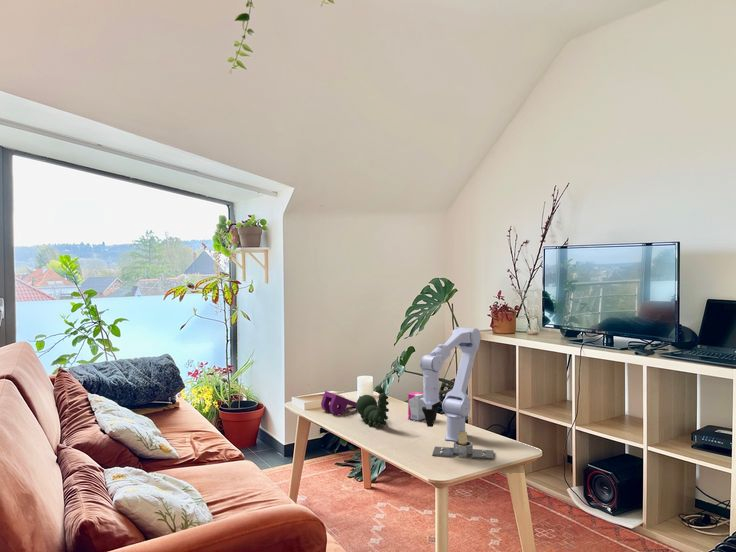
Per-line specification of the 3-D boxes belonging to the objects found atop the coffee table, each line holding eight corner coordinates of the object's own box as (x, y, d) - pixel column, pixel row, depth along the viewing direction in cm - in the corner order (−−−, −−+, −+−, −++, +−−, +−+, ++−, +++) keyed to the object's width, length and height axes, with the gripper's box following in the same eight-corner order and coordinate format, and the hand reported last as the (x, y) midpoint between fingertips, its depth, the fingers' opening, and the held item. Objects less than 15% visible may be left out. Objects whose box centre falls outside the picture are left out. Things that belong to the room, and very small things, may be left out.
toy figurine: (393, 432, 238) (368, 412, 260) (395, 388, 236) (369, 372, 258) (373, 435, 234) (349, 415, 256) (374, 391, 232) (350, 374, 254)
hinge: (432, 455, 204) (432, 444, 204) (435, 448, 212) (434, 438, 212) (493, 460, 199) (493, 448, 199) (493, 452, 207) (493, 441, 207)
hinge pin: (459, 452, 208) (459, 430, 207) (467, 453, 207) (467, 431, 207) (457, 455, 205) (457, 433, 205) (466, 455, 204) (466, 433, 204)
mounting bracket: (347, 418, 274) (318, 408, 264) (353, 402, 276) (325, 391, 266) (359, 423, 266) (329, 412, 256) (365, 406, 268) (336, 394, 258)
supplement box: (426, 419, 251) (426, 393, 251) (418, 422, 247) (417, 395, 246) (416, 416, 255) (415, 391, 255) (407, 419, 251) (407, 393, 250)
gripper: (423, 382, 220) (423, 417, 220) (417, 391, 206) (417, 428, 206) (441, 383, 218) (441, 418, 218) (437, 392, 204) (437, 429, 204)
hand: (431, 423), depth 212 cm, fingers open, 7 cm apart
